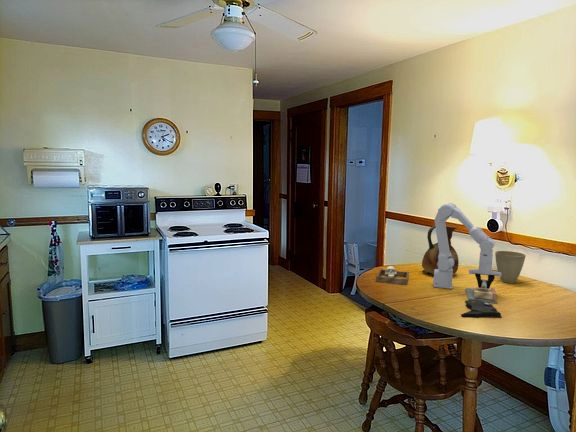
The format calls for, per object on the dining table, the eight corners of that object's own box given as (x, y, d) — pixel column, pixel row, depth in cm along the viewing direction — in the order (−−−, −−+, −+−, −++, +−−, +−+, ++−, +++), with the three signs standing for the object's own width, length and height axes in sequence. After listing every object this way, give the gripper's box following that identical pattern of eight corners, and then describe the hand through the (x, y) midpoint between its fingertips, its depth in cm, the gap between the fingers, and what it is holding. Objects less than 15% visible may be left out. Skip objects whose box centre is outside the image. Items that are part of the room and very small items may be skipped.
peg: (480, 292, 200) (481, 280, 199) (478, 290, 203) (479, 279, 202) (488, 293, 199) (489, 281, 198) (485, 290, 202) (486, 279, 202)
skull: (403, 282, 216) (391, 267, 216) (388, 293, 219) (376, 278, 220) (403, 275, 227) (391, 261, 228) (389, 286, 230) (377, 272, 231)
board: (468, 300, 191) (469, 291, 190) (465, 289, 208) (465, 281, 207) (496, 303, 187) (497, 294, 186) (490, 292, 204) (491, 283, 203)
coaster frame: (376, 281, 219) (376, 276, 219) (379, 274, 235) (379, 269, 234) (407, 285, 214) (407, 279, 214) (408, 277, 229) (408, 272, 229)
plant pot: (528, 282, 222) (530, 254, 220) (514, 286, 214) (517, 257, 212) (501, 276, 234) (503, 249, 232) (487, 280, 226) (489, 252, 224)
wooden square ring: (474, 297, 191) (474, 291, 190) (472, 292, 198) (472, 287, 198) (492, 299, 188) (493, 293, 188) (490, 294, 196) (490, 288, 195)
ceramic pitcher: (463, 278, 228) (466, 226, 224) (427, 278, 228) (430, 226, 224) (449, 269, 247) (453, 221, 243) (417, 269, 248) (419, 221, 244)
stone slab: (453, 305, 191) (454, 294, 191) (491, 309, 187) (492, 299, 187) (461, 318, 170) (462, 306, 169) (503, 323, 165) (504, 311, 165)
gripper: (470, 263, 198) (468, 289, 199) (503, 265, 193) (501, 293, 195) (469, 259, 204) (467, 285, 206) (500, 262, 200) (498, 288, 201)
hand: (483, 289), depth 201 cm, fingers closed on peg, 3 cm apart
